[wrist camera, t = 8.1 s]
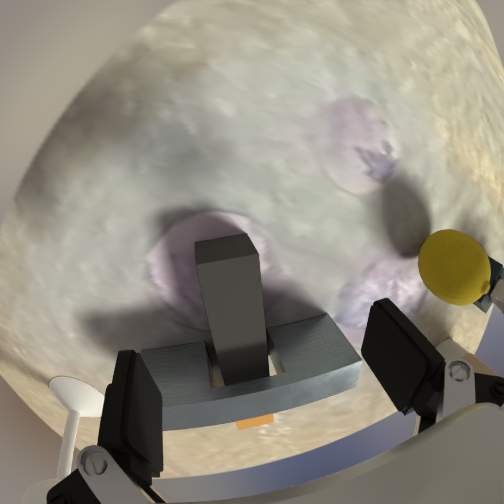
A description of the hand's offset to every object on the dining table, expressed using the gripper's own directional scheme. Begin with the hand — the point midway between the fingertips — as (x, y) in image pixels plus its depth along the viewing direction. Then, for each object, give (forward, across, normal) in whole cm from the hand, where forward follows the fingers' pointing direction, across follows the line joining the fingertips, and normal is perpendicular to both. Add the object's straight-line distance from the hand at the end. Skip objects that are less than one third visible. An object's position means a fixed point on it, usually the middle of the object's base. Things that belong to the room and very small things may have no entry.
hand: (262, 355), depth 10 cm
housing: (+8, +1, +8) cm, 11 cm away
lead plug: (+8, +1, +7) cm, 10 cm away
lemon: (+9, -16, +2) cm, 19 cm away
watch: (+9, -30, +9) cm, 33 cm away
